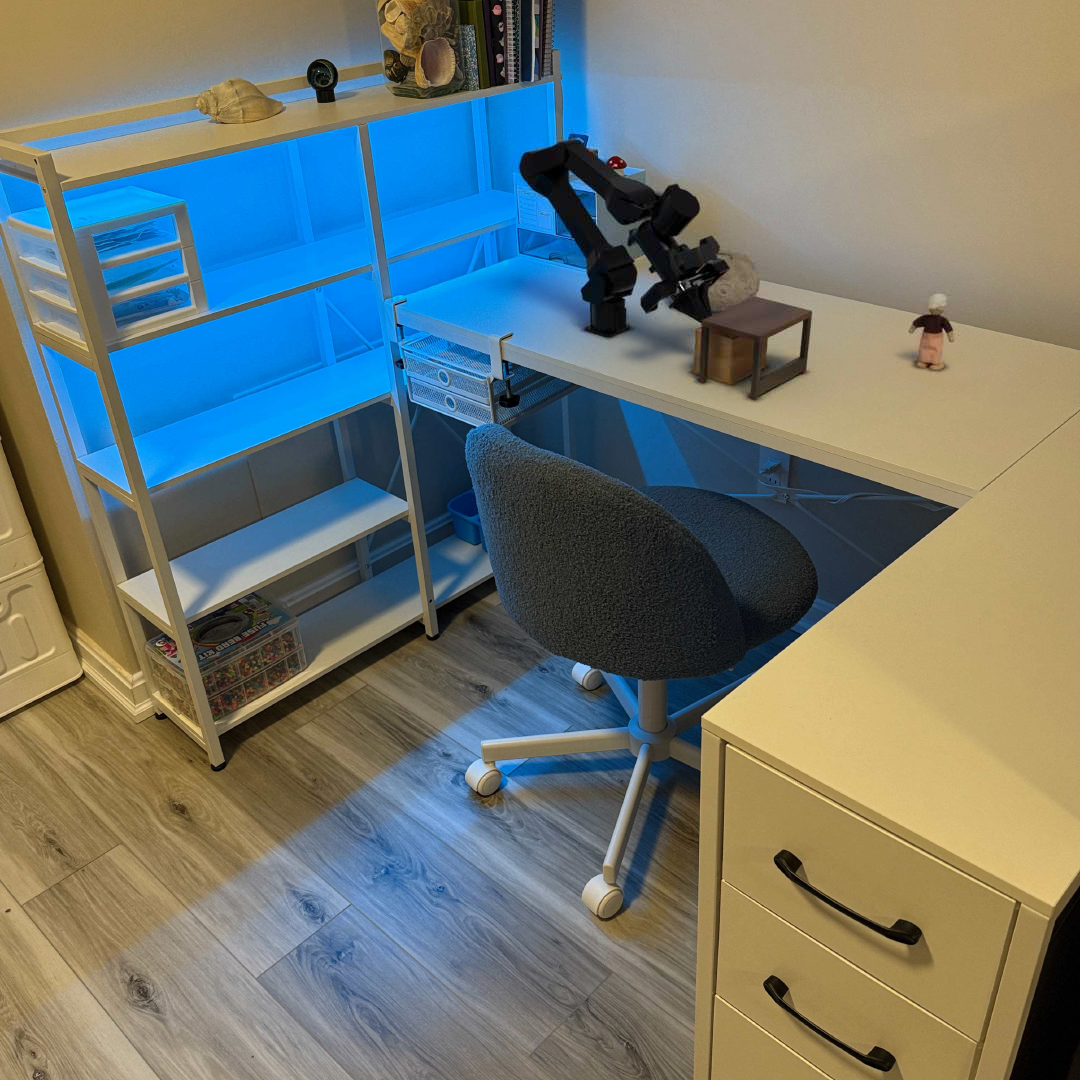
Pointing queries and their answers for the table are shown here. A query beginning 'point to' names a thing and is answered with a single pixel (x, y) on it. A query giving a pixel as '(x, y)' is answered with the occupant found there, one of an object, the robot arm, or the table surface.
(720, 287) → the grey rounded stone
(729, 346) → the wooden box
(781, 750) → the table surface
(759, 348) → the desk shelf
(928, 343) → the grandmother figurine
